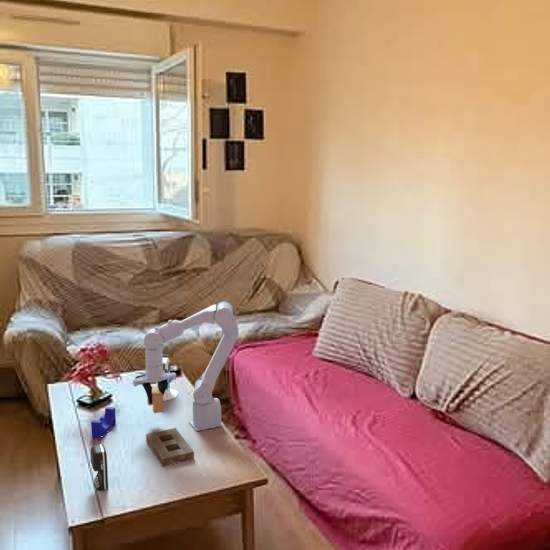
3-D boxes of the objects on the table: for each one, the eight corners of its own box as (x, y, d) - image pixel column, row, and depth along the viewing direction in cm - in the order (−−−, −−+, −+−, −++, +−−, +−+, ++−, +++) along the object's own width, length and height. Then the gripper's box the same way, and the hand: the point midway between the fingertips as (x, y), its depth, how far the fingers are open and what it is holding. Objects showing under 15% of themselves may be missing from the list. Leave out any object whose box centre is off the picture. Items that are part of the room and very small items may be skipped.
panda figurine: (175, 401, 226) (174, 364, 223) (145, 401, 226) (144, 363, 223) (180, 389, 237) (179, 353, 234) (152, 388, 238) (151, 353, 235)
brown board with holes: (175, 434, 199) (175, 427, 199) (194, 459, 184) (193, 451, 183) (146, 440, 195) (146, 433, 194) (162, 466, 179) (162, 458, 179)
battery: (91, 480, 171) (89, 444, 169) (104, 477, 173) (102, 441, 171) (94, 492, 165) (92, 455, 163) (108, 489, 167) (106, 452, 164)
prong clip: (155, 402, 209) (155, 385, 208) (163, 411, 201) (163, 395, 200) (147, 403, 208) (147, 387, 206) (154, 413, 200) (154, 396, 199)
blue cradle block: (103, 422, 208) (102, 406, 207) (115, 423, 207) (115, 407, 206) (87, 438, 197) (86, 421, 195) (100, 439, 196) (99, 422, 195)
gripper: (171, 357, 208) (172, 394, 211) (130, 363, 201) (131, 401, 204) (177, 364, 202) (178, 401, 204) (135, 370, 195) (136, 409, 198)
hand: (155, 401), depth 204 cm, fingers closed on prong clip, 3 cm apart
